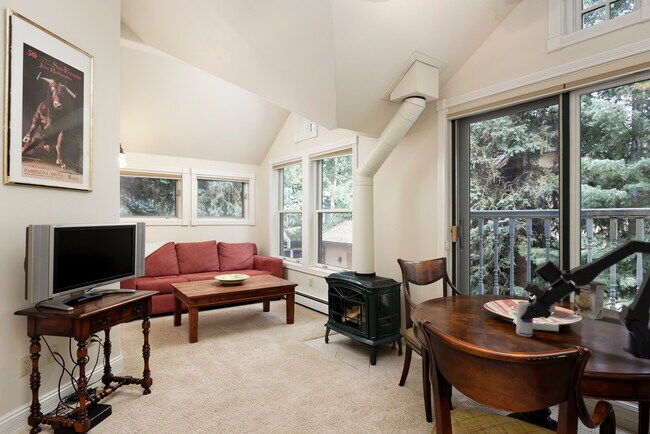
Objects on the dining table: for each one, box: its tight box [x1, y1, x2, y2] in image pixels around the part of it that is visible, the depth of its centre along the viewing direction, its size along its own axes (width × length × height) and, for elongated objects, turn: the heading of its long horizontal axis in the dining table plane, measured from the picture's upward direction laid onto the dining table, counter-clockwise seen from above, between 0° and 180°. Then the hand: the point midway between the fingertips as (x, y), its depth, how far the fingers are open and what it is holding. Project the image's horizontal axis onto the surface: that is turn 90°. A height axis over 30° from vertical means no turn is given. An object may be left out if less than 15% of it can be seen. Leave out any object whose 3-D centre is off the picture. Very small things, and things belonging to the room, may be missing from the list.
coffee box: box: [572, 280, 605, 320], centre depth 152 cm, size 9×6×16 cm
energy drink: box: [515, 301, 534, 338], centre depth 128 cm, size 5×5×12 cm
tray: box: [507, 311, 560, 332], centre depth 141 cm, size 14×14×2 cm
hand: (520, 316), depth 129 cm, fingers closed on energy drink, 5 cm apart
